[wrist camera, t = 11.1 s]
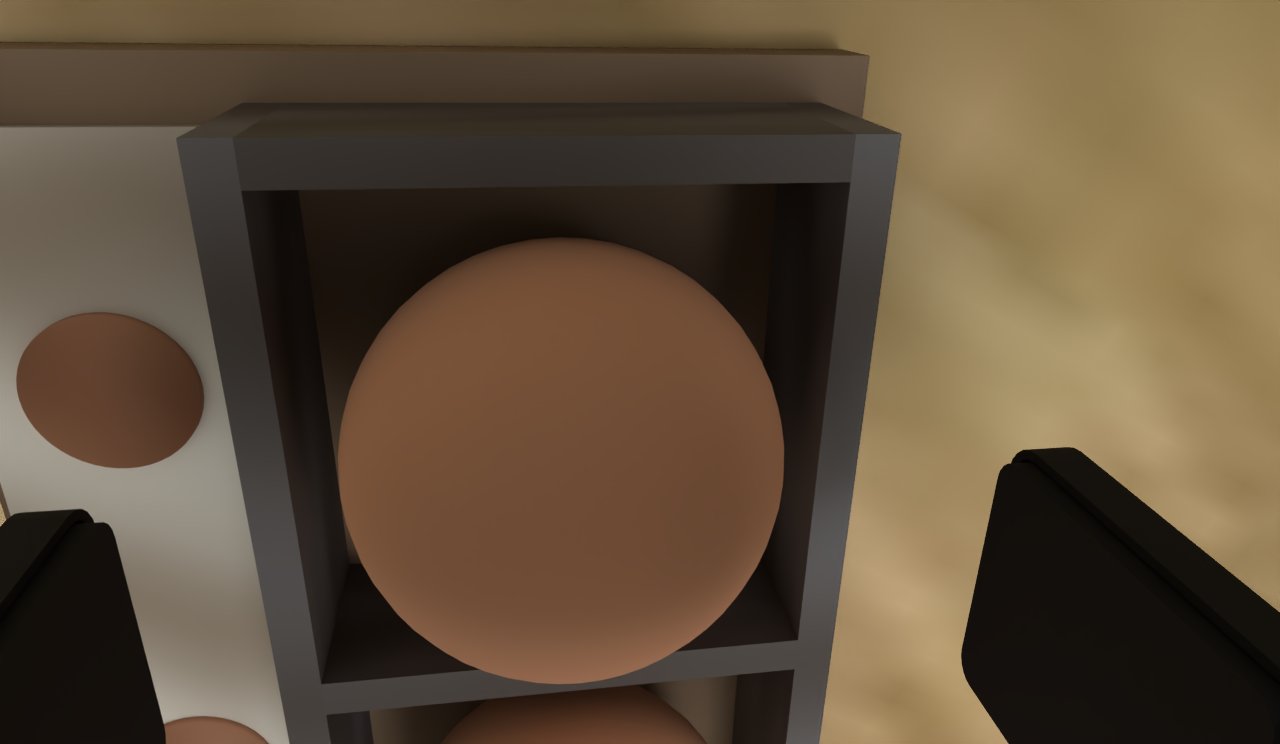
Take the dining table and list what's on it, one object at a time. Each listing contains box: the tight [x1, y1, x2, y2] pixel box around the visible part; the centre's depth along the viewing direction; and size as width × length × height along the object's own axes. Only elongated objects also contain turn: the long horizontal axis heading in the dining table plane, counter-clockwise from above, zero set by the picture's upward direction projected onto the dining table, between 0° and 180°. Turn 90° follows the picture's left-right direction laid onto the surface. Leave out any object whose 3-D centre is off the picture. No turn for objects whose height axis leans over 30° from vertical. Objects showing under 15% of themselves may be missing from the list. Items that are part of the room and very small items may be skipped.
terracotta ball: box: [338, 237, 784, 684], centre depth 12 cm, size 6×6×6 cm
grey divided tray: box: [0, 42, 901, 744], centre depth 16 cm, size 18×14×4 cm
